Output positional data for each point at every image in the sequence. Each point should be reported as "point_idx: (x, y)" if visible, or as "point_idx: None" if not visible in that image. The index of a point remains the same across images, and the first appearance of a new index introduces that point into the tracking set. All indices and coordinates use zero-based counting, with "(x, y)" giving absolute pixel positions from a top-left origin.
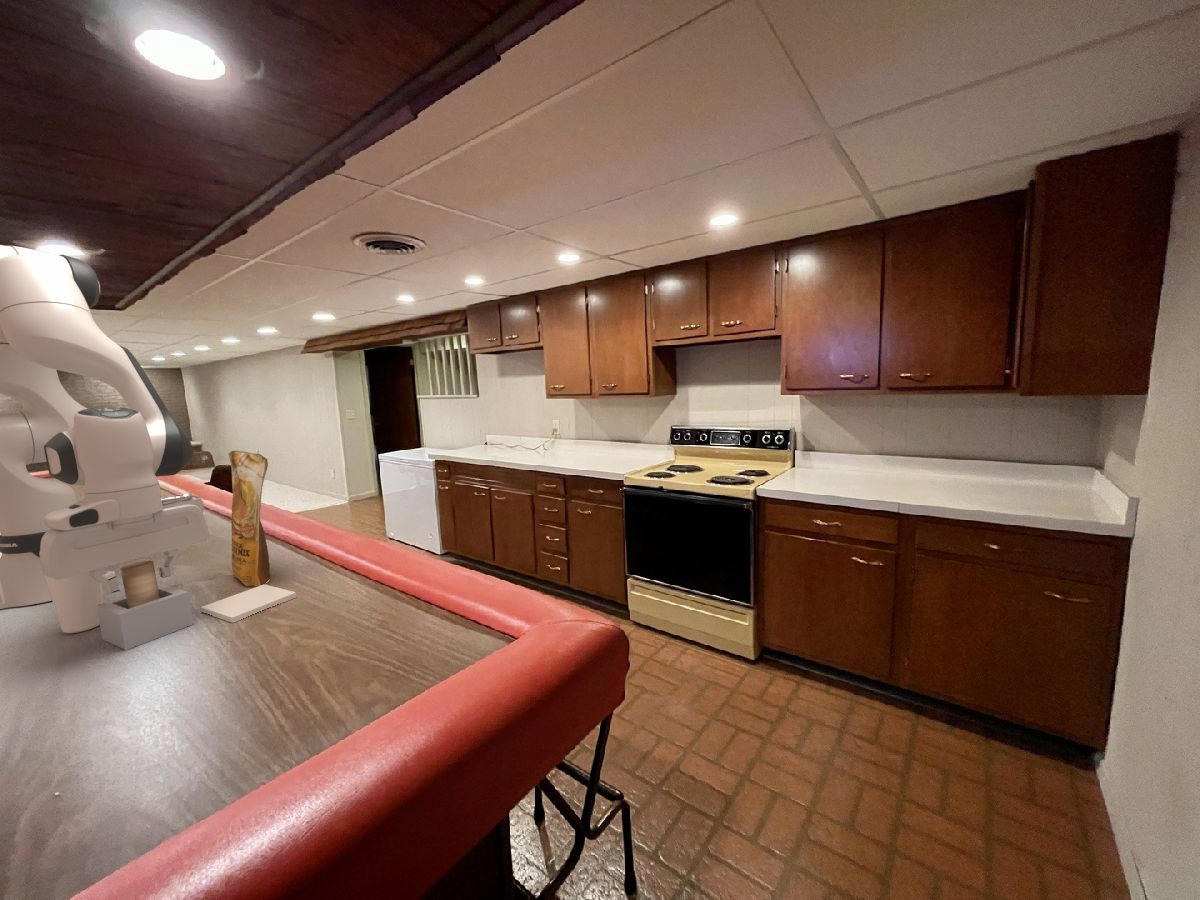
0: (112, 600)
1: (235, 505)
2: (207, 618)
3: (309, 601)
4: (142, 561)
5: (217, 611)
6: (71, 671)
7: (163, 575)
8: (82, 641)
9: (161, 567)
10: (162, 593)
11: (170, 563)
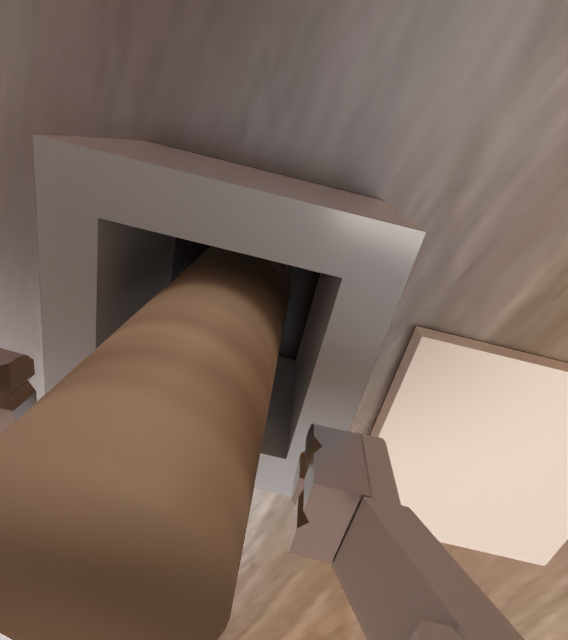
0: (121, 159)
1: None
2: (366, 398)
3: (494, 592)
4: (178, 534)
5: (384, 439)
6: (3, 319)
7: (293, 489)
8: (101, 48)
9: (313, 519)
10: (322, 328)
11: (352, 600)
